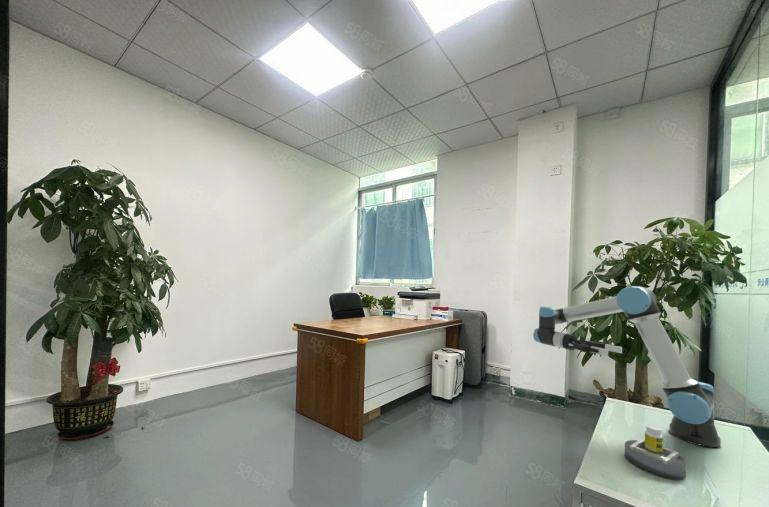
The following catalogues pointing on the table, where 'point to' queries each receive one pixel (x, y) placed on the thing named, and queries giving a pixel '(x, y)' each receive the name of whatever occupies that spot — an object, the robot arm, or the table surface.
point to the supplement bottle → (653, 440)
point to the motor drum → (655, 461)
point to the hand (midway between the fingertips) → (615, 351)
